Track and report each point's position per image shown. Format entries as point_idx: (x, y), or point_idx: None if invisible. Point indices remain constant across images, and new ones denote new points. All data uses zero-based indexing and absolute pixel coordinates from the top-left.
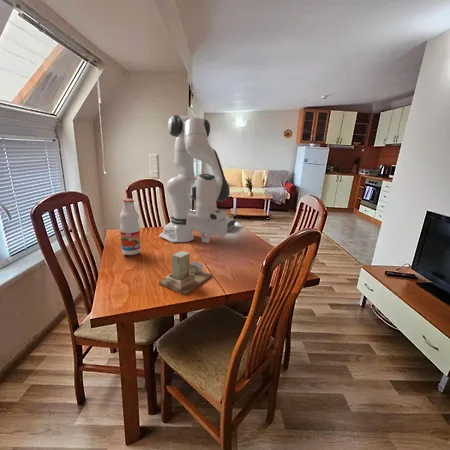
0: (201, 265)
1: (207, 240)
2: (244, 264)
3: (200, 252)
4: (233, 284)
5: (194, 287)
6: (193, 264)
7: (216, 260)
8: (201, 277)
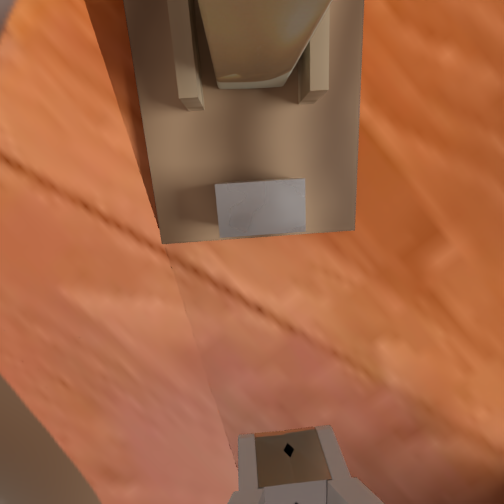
0: (219, 224)
1: (239, 471)
2: (133, 449)
3: (402, 413)
4: (19, 251)
5: (132, 43)
6: (272, 192)
7: (273, 397)
8: (181, 170)
